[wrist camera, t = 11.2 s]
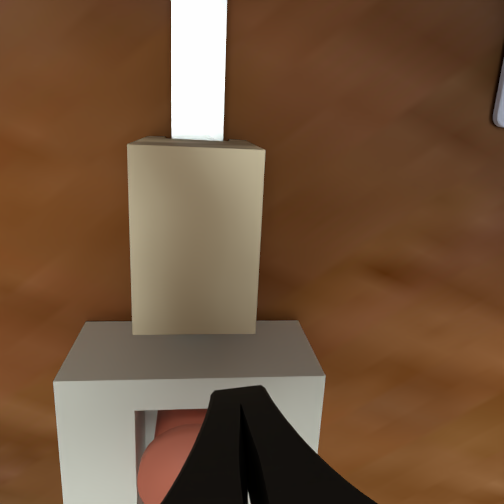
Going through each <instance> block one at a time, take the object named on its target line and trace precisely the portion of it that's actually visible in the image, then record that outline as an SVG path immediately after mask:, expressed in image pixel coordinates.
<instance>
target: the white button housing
mask: <svg viewBox="0 0 504 504" xmlns="http://www.w3.org/2000/svg"><path fill="white" fill-rule="evenodd" d="M325 377H326V376H325V374H324V372H323V370H322V368H321V366H320V364H319V362H318V360H317V358H316V356H315V354H314V352H313V350H312V347H311V345H310V343H309V341H308V339H307V337H306V335H305V333H304V331H303V329H302V327H301V325H300V323H299V321H298V320H283V321H256V332H255V334H178V335H133V333H132V321H98V322H85V324H84V326H83V328H82V330H81V331H80V333H79V335H78V337H77V339H76V341H75V342H74V344H73V346H72V348H71V350H70V352H69V353H68V355H67V357H66V359H65V361H64V363H63V364H62V366H61V368H60V370H59V372H58V374H57V375H56V377H55V379H54V381H53V386H54V398H55V409H56V421H57V433H58V445H59V457H60V468H61V480H62V492H63V504H144V503H143V501H142V499H141V497H140V495H139V492H138V486H137V477H138V471H139V465H140V461H141V458H142V455H143V453H144V451H145V449H146V448H147V447H148V445H149V444H150V443H151V442H152V441H153V440H154V435H155V428H156V421H157V413H158V410H174V409H208V405H209V401H210V395H211V394H212V393H213V392H214V390H222V389H230V388H238V387H247V386H255V385H262V386H263V387H265V388H266V390H267V392H268V394H269V395H270V397H271V399H272V400H273V402H274V403H275V405H276V406H277V407H278V409H279V410H280V412H281V413H282V414H283V416H284V417H285V418H286V419H287V421H288V422H289V423H290V424H291V426H292V427H293V428H294V429H295V430H296V432H297V433H298V434H299V435H300V436H301V437H302V438H303V440H304V441H305V442H306V443H307V444H308V445H309V446H310V447H311V448H312V449H313V450H314V451H315V452H316V453H318V443H319V434H320V424H321V415H322V405H323V396H324V386H325ZM248 504H251V503H250V498H249V494H248Z"/></svg>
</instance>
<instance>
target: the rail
mask: <svg viewBox="0 0 504 504" xmlns="http://www.w3.org/2000/svg"><path fill="white" fill-rule="evenodd" d="M226 21H227V0H171V70H172V139H190V140H213V141H223V124H224V90H225V55H226Z"/></svg>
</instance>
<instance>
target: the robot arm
mask: <svg viewBox="0 0 504 504" xmlns="http://www.w3.org/2000/svg"><path fill="white" fill-rule="evenodd" d="M493 121H494V124H495V125H496V126H498V127H503V128H504V59H503V64H502V70H501V75H500V80H499V86H498V91H497V96H496V102H495V107H494V112H493ZM248 494H249V498H250V503H251V504H377V503H376V502H375V501H373V500H372V499H370V498H369V497H367V496H366V495H364V494H363V493H362V492H360V491H359V490H358V489H356V488H355V487H354V486H353V485H351V484H350V483H349V482H348V481H346V480H345V479H344V478H343V477H342V476H340V475H339V474H338V473H337V472H336V471H335V470H334V469H332V468H331V467H330V466H329V465H328V464H327V463H326V462H325V461H324V460H323V459H322V458H321V457H320V456H319V455H318V454H317V453H316V452H315V451H314V450H313V449H312V448H311V447H310V446H309V445H308V444H307V443H306V442H305V441H304V440H303V438H302V437H301V436H300V435H299V434H298V433H297V432H296V430H295V429H294V428H293V427H292V426H291V424H290V423H289V422H288V421H287V419H286V418H285V417H284V416H283V414H282V413H281V412H280V410H279V409H278V407H277V406H276V405H275V403H274V402H273V400H272V399H271V397H270V395H269V394H268V392H267V390H266V388H265V387H263V386H262V385H255V386H247V387H238V388H230V389H222V390H214V392H213V393H212V394H211V395H210V401H209V405H208V409H207V412H206V415H205V418H204V421H203V424H202V426H201V429H200V431H199V433H198V436H197V438H196V440H195V443H194V445H193V447H192V449H191V451H190V453H189V455H188V457H187V459H186V461H185V463H184V465H183V467H182V469H181V471H180V473H179V474H178V476H177V478H176V480H175V481H174V483H173V485H172V486H171V488H170V490H169V491H168V493H167V494H166V496H165V497H164V499H163V501H162V502H161V504H248Z"/></svg>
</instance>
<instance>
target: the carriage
mask: <svg viewBox="0 0 504 504" xmlns="http://www.w3.org/2000/svg"><path fill="white" fill-rule="evenodd" d="M127 157H128V193H129V228H130V263H131V298H132V333H133V335H178V334H255V332H256V314H257V296H258V277H259V259H260V241H261V222H262V204H263V186H264V167H265V150H264V149H262V148H260V147H258V146H256V145H254V144H252V143H250V142H248V141H246V140H232V139H228V141H213V140H190V139H167V138H166V137H164V136H147V137H145V138H142V139H139V140H137V141H134V142H132V143H129V144H127Z"/></svg>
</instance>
